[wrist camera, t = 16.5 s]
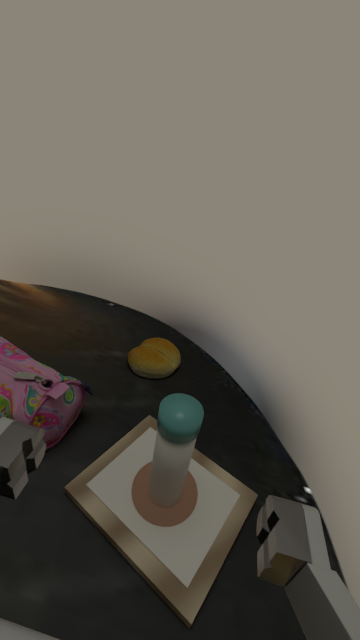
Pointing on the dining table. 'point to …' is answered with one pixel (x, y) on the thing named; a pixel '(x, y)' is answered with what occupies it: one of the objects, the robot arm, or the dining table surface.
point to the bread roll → (154, 358)
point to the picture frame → (164, 518)
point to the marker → (173, 447)
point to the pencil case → (38, 394)
